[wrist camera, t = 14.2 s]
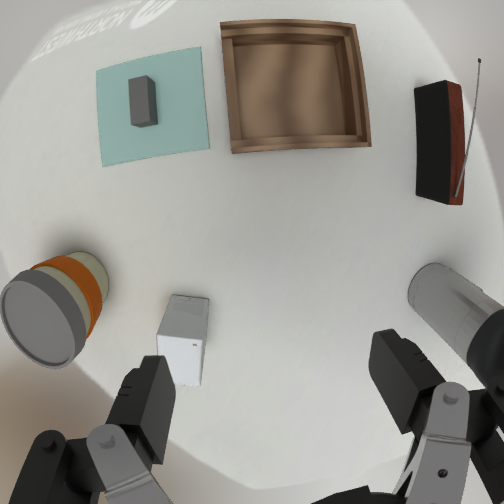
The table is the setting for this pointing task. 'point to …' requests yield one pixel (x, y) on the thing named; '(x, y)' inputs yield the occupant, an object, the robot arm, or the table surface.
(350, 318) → the table surface
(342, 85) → the walnut box
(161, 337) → the small box
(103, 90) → the cover plate
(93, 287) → the reusable coffee cup
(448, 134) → the radio
